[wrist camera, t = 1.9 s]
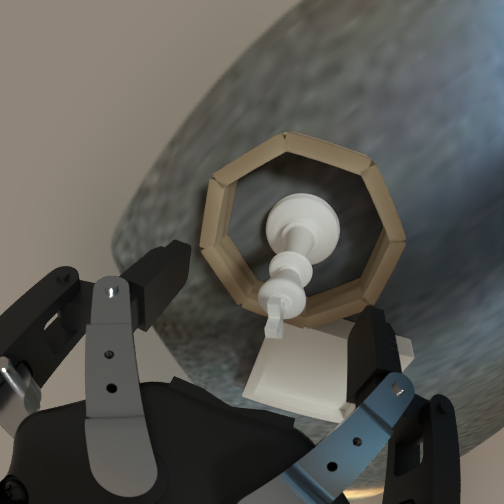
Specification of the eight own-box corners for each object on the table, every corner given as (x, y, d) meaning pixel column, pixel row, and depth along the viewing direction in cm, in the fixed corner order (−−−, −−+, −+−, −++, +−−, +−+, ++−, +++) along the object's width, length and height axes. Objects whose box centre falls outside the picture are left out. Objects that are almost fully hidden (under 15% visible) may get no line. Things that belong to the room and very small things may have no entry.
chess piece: (270, 261, 20) (220, 368, 11) (262, 194, 18) (192, 271, 9) (339, 262, 18) (335, 380, 10) (339, 192, 16) (345, 275, 8)
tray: (410, 339, 19) (414, 357, 17) (349, 408, 25) (348, 424, 23) (279, 298, 21) (273, 316, 19) (247, 380, 27) (241, 396, 25)
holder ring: (417, 176, 14) (430, 185, 12) (350, 321, 20) (350, 343, 18) (236, 117, 16) (221, 117, 14) (207, 272, 22) (193, 289, 20)
